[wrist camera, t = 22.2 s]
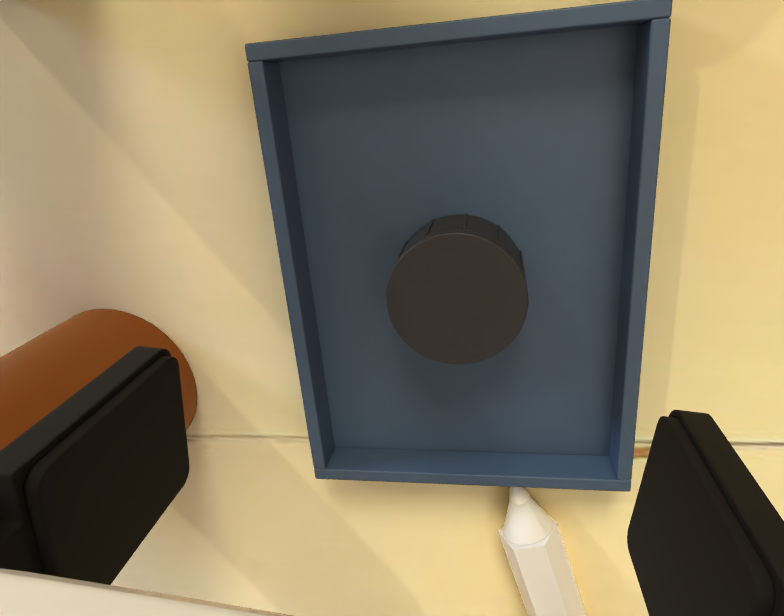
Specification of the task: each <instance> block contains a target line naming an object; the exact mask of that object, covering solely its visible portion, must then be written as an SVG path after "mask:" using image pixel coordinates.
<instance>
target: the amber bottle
mask: <svg viewBox="0 0 784 616" xmlns="http://www.w3.org/2000/svg"><path fill="white" fill-rule="evenodd" d="M137 346H146V347H154V348H162V349H167V350H168V351H169V352H170V353H171V356H172V357H175V358H177V360H178V363H179V370H180V380H181V390H182V399H183V409H184V419H185V428H186V430H187V428H188V427H189V425H190V424H191V422H192V420H193V417H194V414H195V411H196V404H197V391H196V385H195V381H194V377H193V374H192V372H191V369H190V367H189V365H188V363H187V361H186V360H185V358H184V356H183V355H182V353H181V352H180V351H179V349H178V348H177V346H176V345H175V344H174V343H173V342H172V341H171V340H170V339H169V338H168V337H167V336H166V335H165V334H164V333H162V332H161V331H160V330H159V329H157V328H156V327H155V326H153V325H152V324H150V323H148V322H147V321H145V320H143V319H141V318H139V317H136V316H134V315H132V314H128V313H125V312H122V311H117V310H109V309H97V310H90V311H85V312H82V313H80V314H77V315H75V316H73V317H72V318H70V319H68V320H66V321H64V322H63V323H61V324H59V325H57V326H56V327H54V328H52V329H50V330H48V331H47V332H45V333H43V334H41V335H40V336H38V337H36V338H34V339H32V340H31V341H29V342H27V343H25V344H24V345H22V346H20V347H18V348H16V349H15V350H13V351H11V352H9V353H8V354H6V355H4V356H2V357H0V451H1V450H2V449H3V448H5V447H6V446H7V445H9V444H10V443H11V442H12V441H14V440H15V439H16V438H18V437H19V436H20V435H22V434H23V433H24V432H25V431H27V430H28V429H29V428H31V427H32V426H33V425H35V424H36V423H37V422H39V421H40V420H41V419H42V418H44V417H45V416H46V415H48V414H49V413H50V412H52V411H53V410H54V409H55V408H57V407H58V406H59V405H61V404H62V403H63V402H65V401H66V400H67V399H68V398H70V397H71V396H72V395H74V394H75V393H76V392H78V391H79V390H80V389H82V388H83V387H84V386H85V385H87V384H88V383H89V382H91V381H92V380H93V379H95V378H96V377H97V376H98V375H100V374H101V373H102V372H104V371H105V370H106V369H108V368H109V367H110V366H111V365H113V364H114V363H115V362H117V361H118V360H119V359H121V358H122V357H123V356H124V355H126V354H127V353H128V352H130V351H131V350H132V349H134V348H135V347H137Z"/></svg>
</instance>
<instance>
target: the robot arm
mask: <svg viewBox="0 0 784 616" xmlns="http://www.w3.org/2000/svg"><path fill="white" fill-rule="evenodd" d="M188 474H189V457H188V448H187V438H186V428H185V419H184V409H183V399H182V390H181V380H180V370H179V363H178V360H177V358H175V357H172V356H171V353H170V352H169V351H168V350H167V349H162V348H154V347H146V346H137V347H135V348H134V349H132V350H131V351H130V352H128V353H127V354H126V355H124V356H123V357H122V358H121V359H119V360H118V361H117V362H115V363H114V364H113V365H111V366H110V367H109V368H108V369H106V370H105V371H104V372H102V373H101V374H100V375H98V376H97V377H96V378H95V379H93V380H92V381H91V382H89V383H88V384H87V385H85V386H84V387H83V388H82V389H80V390H79V391H78V392H76V393H75V394H74V395H72V396H71V397H70V398H68V399H67V400H66V401H65V402H63V403H62V404H61V405H59V406H58V407H57V408H55V409H54V410H53V411H52V412H50V413H49V414H48V415H46V416H45V417H44V418H42V419H41V420H40V421H39V422H37V423H36V424H35V425H33V426H32V427H31V428H29V429H28V430H27V431H25V432H24V433H23V434H22V435H20V436H19V437H18V438H16V439H15V440H14V441H12V442H11V443H10V444H9V445H7V446H6V447H5V448H3V449H2V450H1V451H0V616H292V615H286V614H280V613H274V612H268V611H263V610H257V609H251V608H245V607H239V606H233V605H227V604H221V603H215V602H209V601H203V600H197V599H191V598H185V597H179V596H173V595H167V594H161V593H155V592H149V591H143V590H137V589H131V588H125V587H119V586H113V585H111V583H112V582H113V580H114V579H115V578H116V576H117V575H118V574H119V572H120V571H121V570H122V568H123V567H124V566H125V564H126V563H127V561H128V560H129V559H130V557H131V556H132V555H133V553H134V552H135V551H136V549H137V548H138V547H139V545H140V544H141V542H142V541H143V540H144V538H145V537H146V536H147V534H148V533H149V532H150V530H151V529H152V528H153V526H154V525H155V523H156V522H157V521H158V519H159V518H160V517H161V515H162V514H163V513H164V511H165V510H166V509H167V507H168V506H169V504H170V503H171V502H172V500H173V499H174V498H175V496H176V495H177V494H178V492H179V491H180V490H181V488H182V487H183V485H184V484H185V482H186V480H187V477H188ZM627 543H628V549H629V553H630V556H631V559H632V562H633V566H634V569H635V572H636V575H637V578H638V581H639V584H640V588H641V591H642V594H643V597H644V600H645V603H646V607H647V610H648V613H649V616H784V521H783V520H782V518H781V517H780V515H779V514H778V512H777V511H776V509H775V508H774V507H773V505H772V504H771V502H770V501H769V499H768V498H767V496H766V495H765V493H764V492H763V491H762V489H761V488H760V486H759V485H758V483H757V482H756V480H755V479H754V478H753V476H752V475H751V473H750V472H749V470H748V469H747V467H746V466H745V465H744V463H743V462H742V460H741V459H740V457H739V456H738V454H737V453H736V452H735V450H734V449H733V447H732V446H731V444H730V443H729V441H728V440H727V439H726V437H725V436H724V434H723V433H722V431H721V430H720V428H719V427H718V425H717V424H716V423H715V421H714V420H713V418H712V417H711V416H710V415H709V414H706V413H698V412H690V411H681V410H673V411H672V412H671V413H670V415H669V417H666V416H662V417H660V419H659V421H658V423H657V427H656V430H655V434H654V438H653V441H652V445H651V448H650V452H649V456H648V459H647V463H646V467H645V470H644V474H643V477H642V481H641V485H640V488H639V492H638V495H637V499H636V503H635V506H634V510H633V514H632V517H631V521H630V524H629V528H628V535H627Z"/></svg>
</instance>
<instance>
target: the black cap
mask: <svg viewBox="0 0 784 616" xmlns="http://www.w3.org/2000/svg"><path fill="white" fill-rule="evenodd" d="M398 257H399V259H398V260H397V262H396V264H395V266H394V268H393V270H392V272H391V275H390V277H389V281H388V285H387V292H386V303H387V310H388V313H389V317H390V320H391V322H392V324H393V326H394V328H395V330H396V331H397V333H398V334H399V336H400V337H401V338H402V339H403V341H404V342H405V343H406V344H407V345H408V346H409V347H411V348H412V349H413V350H415V351H416V352H418V353H419V354H421V355H423V356H424V357H427V358H429V359H431V360H434V361H437V362H441V363H446V364H455V365H462V364H471V363H477V362H480V361H483V360H486V359H488V358H491V357H493V356H494V355H496V354H498V353H500V352H501V351H502V350H504V349H505V348H506V347H507V346H508V345H509V344H510V343H511V342H512V341H513V340H514V339H515V337H516V336H517V335H518V333H519V332H520V330H521V328H522V326H523V324H524V321H525V319H526V315H527V311H528V305H529V300H528V289H527V283H526V276H525V269H524V263H523V257H522V252H521V251H519V250H518V248H517V246H516V244H515V243H514V241H513V240H512V238H511V237H510V236H509V235H508V234H507V233H506V232H505V231H504V230H503V229H501V226H500V225H498V226H497V225H496V224H494V223H492V222H490V221H488V220H486V219H484V218H480V217H477V216H472V215H468V214H467V213H465V215H460V214H458V215H449V216H445V217H441V218H438V219H435V220H434V219H432V220H431V222H429V223H427V224H426V225H424V226H423V227H421V228H420V229H419V230H418V231H417V232H416V233H415V234H414V235H413V236H412V237H411V238H410V240H407V241H406V242H405V244H404V246H403V248H402V250H401V252H400V253H399V255H398Z"/></svg>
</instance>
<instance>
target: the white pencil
mask: <svg viewBox="0 0 784 616" xmlns="http://www.w3.org/2000/svg"><path fill="white" fill-rule="evenodd" d="M498 533H499V536H500V539H501V542H502V544H503V547H504V550H505V553H506V556H507V558H508V561H509V564H510V567H511V570H512V573H513V575H514V578H515V581H516V584H517V587H518V589H519V592H520V595H521V598H522V601H523V603H524V606H525V609H526V612H527V615H528V616H586V613H585V610H584V607H583V604H582V601H581V597H580V594H579V591H578V588H577V585H576V581H575V578H574V575H573V572H572V569H571V565H570V562H569V559H568V556H567V553H566V549H565V546H564V543H563V540H562V537H561V533H560V530H559V527H558V524H557V523H556V522H555V521H554V520H553V519H552V518H551V517H550V516H549V515H548V514H547V513H546V512H545V511H544V510H543V509H542V508H541V507H540V506H539V505H538V504H537V503H536V502H535V501H534V500H533V499H532V498H531V497H530V495H529V493H528V492H527V491H526V490H525V488H524V487H510V493H509V505H508V509H507V514H506V518H505V523H504V525H503V526H502V528H501V529H500V531H499V532H498Z"/></svg>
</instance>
